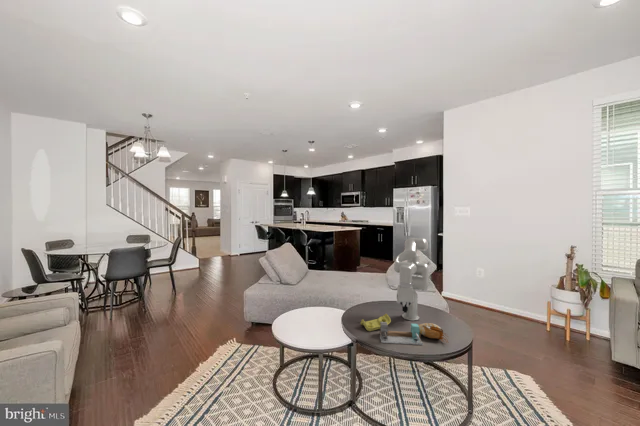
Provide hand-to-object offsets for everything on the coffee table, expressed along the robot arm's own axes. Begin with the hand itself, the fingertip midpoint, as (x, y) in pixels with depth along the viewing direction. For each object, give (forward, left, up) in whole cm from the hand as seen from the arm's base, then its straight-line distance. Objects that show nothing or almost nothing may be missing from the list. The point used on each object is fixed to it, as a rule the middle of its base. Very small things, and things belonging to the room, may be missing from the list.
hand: (404, 311), depth 176 cm
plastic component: (-11, -17, -16) cm, 26 cm away
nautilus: (+2, +18, -16) cm, 24 cm away
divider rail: (+4, -3, -16) cm, 17 cm away
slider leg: (+4, +6, -15) cm, 17 cm away
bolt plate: (+7, -4, -16) cm, 18 cm away
